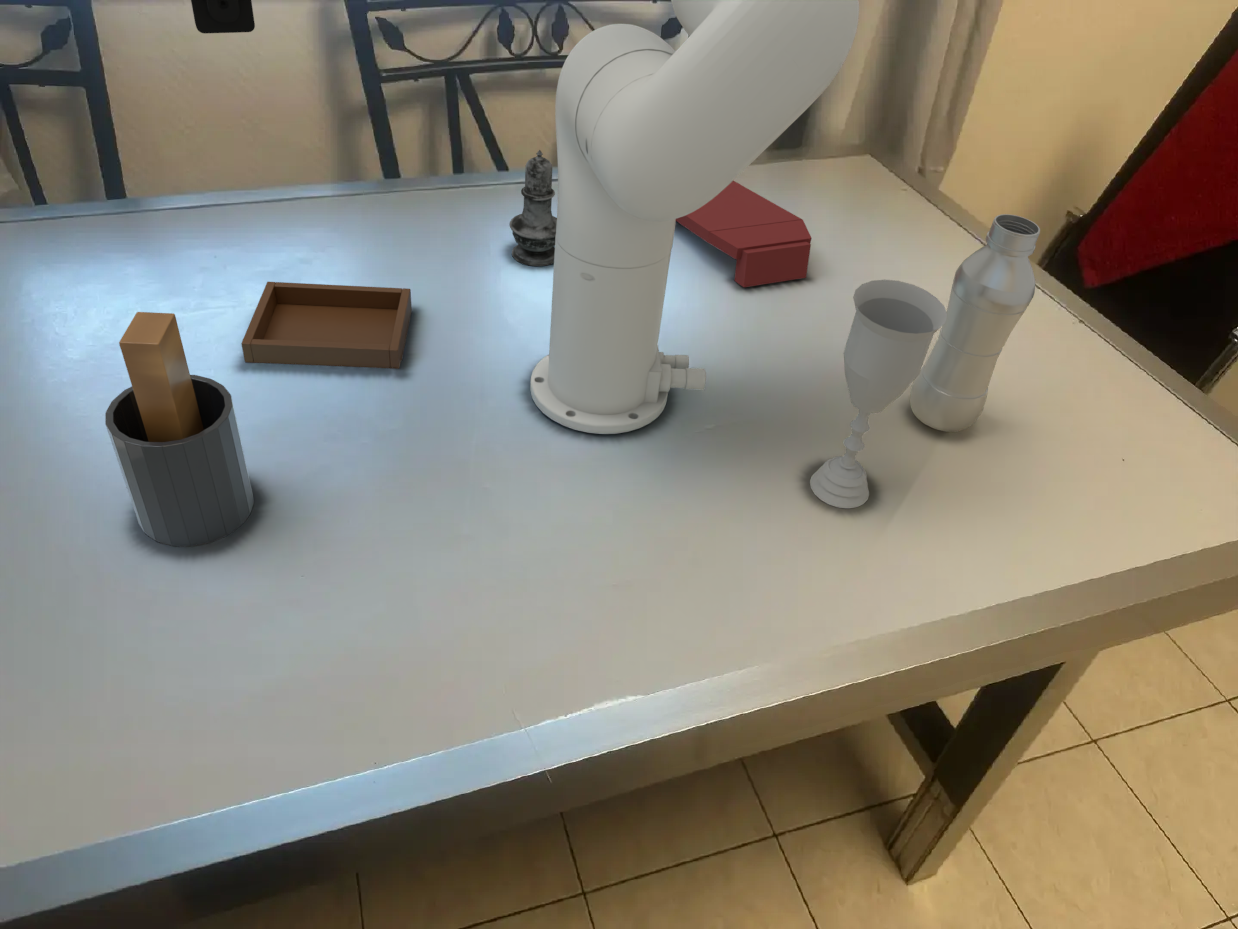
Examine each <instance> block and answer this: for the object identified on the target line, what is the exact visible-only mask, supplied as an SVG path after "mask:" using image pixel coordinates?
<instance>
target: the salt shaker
mask: <svg viewBox="0 0 1238 929" xmlns="http://www.w3.org/2000/svg"><path fill="white" fill-rule="evenodd" d="M535 155H536V156H534V157H532V158H529V159H528V160H527V161H526V162H525V169H524V170H525V171H524V186H523V187H522V188H521V190H520V194H521V196H522V197H523V208H522V212H521V213H520V214H517V215H515V216H514V217H512V218H511V219H510V221H509V229H510V230H511V231H512V236H513V239H514V240H515V242H516V245H515V246H514V247H513V248H512V249H511V257H512V258H513V260H515V261H516V262H518V263H520V264H522V265H525V266H529V267H547V266H550V265H554V254H555V236H556V225H557V216H554V215H553V212H552V200H553V198H554V197H555V195H556V192H555V190H554V189H553V188H552V185H553V164H552V162H551V161H550V160H549V159H548V158H545V157H544V156H543V155H544V154H543V152H542V150H541V149H538V151H537V152H536V153H535Z"/></svg>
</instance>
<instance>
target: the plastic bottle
mask: <svg viewBox="0 0 1238 929" xmlns="http://www.w3.org/2000/svg"><path fill="white" fill-rule="evenodd" d="M990 225H991V226H990V229H989V230H988V231H987V233H986V235H985V238H984V239H985V242H986V244H985V245H983V246H982V247H980V248H979V249H977V250H975V251H974V252H973V253H971V254H970V255H969V256H968V257H966V258H965V259H964V260H962V262H961V263H960V265H959V266H958V267H957V268H956V270H955V272H954V276H953V280H952V284H951V285H952V286H951V289H950V293H949V297H948V298H949V299H948V303H947V308H946V312H947V318H946V322H945V323H944V324H943V325H942V327H941V328H940V329H939V334H938V336H937V340H936V341H935V343H934V345H933V347H932V349H931V350H930V353H929V356H928V357H927V359H926V361H925V363H924V364H923V365H922V367H921V370H920V373H919V375H918V376H917V377H916V378H915V379H914V381H913V382H912V383H911V386H910V391H909V392H910V393H909V397H908V398H909V399H908V402H909V406H910V409H911V412H912V414H913V415H914V417H915V418H916V419H918V420H919V421H920V422H921V423H923V424H924V425H925V426H927V427H929V428H932V429H934V430H937V431H940V432H947V433H956V432H960V431H964V430H965V429H967V428H969V427H971V426H973V425H974V424H975V423H976V421H977V420H978V418H979V417H980V416H981V414H982V413H983V411H984V408H985V404H986V401H987V397H988V394H989V385H990V382H991V379H992V376H993V373H994V371H995V367H996V365H997V362H998V359H999V356H1000V355H1001V353H1002V351H1003V348H1004V347H1005V345H1006V343H1007V341H1008V339H1009V337H1010V335H1011V334H1012V332H1013V330H1014V328H1015V327H1016V325H1017V324H1018V322H1019V321H1020V320H1021V318H1022V316H1023V315H1024V313H1025V312H1026V310H1027V308H1028V307H1029V306H1030V303H1031V302H1032V300H1033V298H1034V296H1035V292H1036V277H1035V274H1034V269H1033V267H1032V264H1031V262H1030V261H1031V260H1030V259H1029V257H1030V256H1031V255H1033V254H1034V253H1035V250H1036V247H1037V245H1036V244H1037V242H1038V239H1039V236H1040V234H1041V228H1040V226H1039V225H1038V224H1037V223H1036V222H1034V221H1032V220H1031V219H1028V218H1027V217H1023V216H1020V215H1017V214H1009V213H1001V214H998V215H996V216H995V217H994V218H993V220H992V223H991V224H990Z"/></svg>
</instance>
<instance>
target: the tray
mask: <svg viewBox="0 0 1238 929" xmlns="http://www.w3.org/2000/svg"><path fill="white" fill-rule="evenodd" d="M411 291H412V290H411V288H405V287H403V288H402V287H386V286H385V287H382V286H365V285H345V284H344V285H342V284H322V283H303V282H282V281H266V284H265V287H264V289H263V291H262V293H261V296H260V298H259V301H258V303H257V305H256V308H255V310H254V312H253V315H252V317H251V320H250V321H249V324H248V326H247V329H246V332H245V334H244V336H243V338H242V341H241V343H240V345H241V348H242V355H243V359H244V362H245V363H247V364H250V363H251V364H271V365H272V364H273V365H277V364H278V365H295V366H296V365H297V366H318V367H319V366H320V367H321V366H323V367H345V368H348V367H349V368H372V369H393V370H394V369H395V370H399V369H400V368H401V362H402V361H403V358H404V353H405V347H406V343H407V337H408V334H409V327H410V321H411V317H412V312H413V309H412V293H411Z"/></svg>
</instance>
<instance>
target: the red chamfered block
mask: <svg viewBox="0 0 1238 929" xmlns="http://www.w3.org/2000/svg"><path fill="white" fill-rule="evenodd" d="M676 222H677V223H678V224H680V226H682V227H684V228H686V230H689V231H690V232H691V233H693V234H694V235H696V236H697V237H699V238H700V239H701V240H703V241H704V242H705V243H707V244H709V245H711V246H712V247H714V248H716V249H718V250H719V251H721V252H723V253H724V254H726V255H727V256H729V257H731V258H733V259H734V260H736V262H735V272H734V282H735V283H737V284H738V285H740V286H741V287H743V288H749V287H755V286H763V285H767V284H775V283H781V282H787V281H793V280H798V279H799V280H800V279H806V278H807V274H808V266H809V260H810V252H811V246H812V244H811V243H812V236H811V234H810V231H809V230H808V227H807V225H806V223H805V221H804V219H802V218H801V217H799V216H797V215H796V214H794V213H792V212H790V211H789V210H787V209H785V208H783V207H781V206H779V205H777V204H776V203H775V202H772V201H770V200H769V199H767V198H766V197H764V196H762V195H760V194H758V193H756V192H754V191H753V190H751V189H749V188H748V187H746V186H744V185H742V184H740V183H739V182H737V181H735V180H733V181H732V182H731V183H730V184H729V185H728V186H727V187H726V188H725V189H724V190H722V191H721V192H720V193H719V194H718V195H717V196H715V197H714V198H713V199H712V200H710V201H709V202H708V203H706V204H705V205H703V206H702V207H700V208H699V209H697V210H695V211H694V212H692V213H690V214H688V215H685V216H683V217H680V218H677V219H676Z"/></svg>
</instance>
